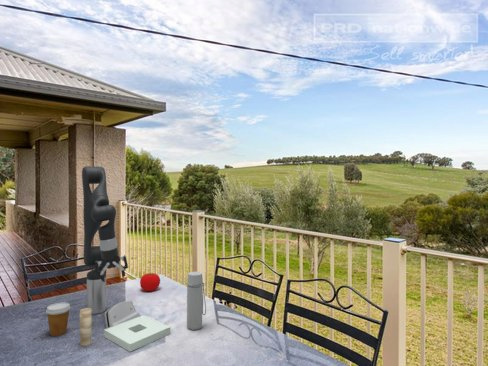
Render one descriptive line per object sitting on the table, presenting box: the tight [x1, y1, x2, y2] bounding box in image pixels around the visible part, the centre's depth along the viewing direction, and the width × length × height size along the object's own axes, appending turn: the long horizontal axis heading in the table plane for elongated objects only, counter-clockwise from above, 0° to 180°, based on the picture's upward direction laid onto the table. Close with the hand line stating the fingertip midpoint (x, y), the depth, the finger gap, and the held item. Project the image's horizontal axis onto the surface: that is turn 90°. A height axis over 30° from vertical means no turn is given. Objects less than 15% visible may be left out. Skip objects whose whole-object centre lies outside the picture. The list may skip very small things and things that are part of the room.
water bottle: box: [186, 271, 207, 331], centre depth 152 cm, size 9×8×25 cm
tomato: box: [139, 272, 161, 292], centre depth 203 cm, size 12×12×10 cm
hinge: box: [104, 300, 140, 329], centre depth 158 cm, size 17×5×10 cm, turn 156°
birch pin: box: [79, 307, 93, 347], centre depth 136 cm, size 4×4×14 cm
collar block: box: [103, 315, 171, 353], centre depth 144 cm, size 20×20×3 cm
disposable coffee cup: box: [45, 301, 71, 337], centre depth 146 cm, size 10×10×12 cm
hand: (113, 279), depth 157 cm, fingers open, 8 cm apart
